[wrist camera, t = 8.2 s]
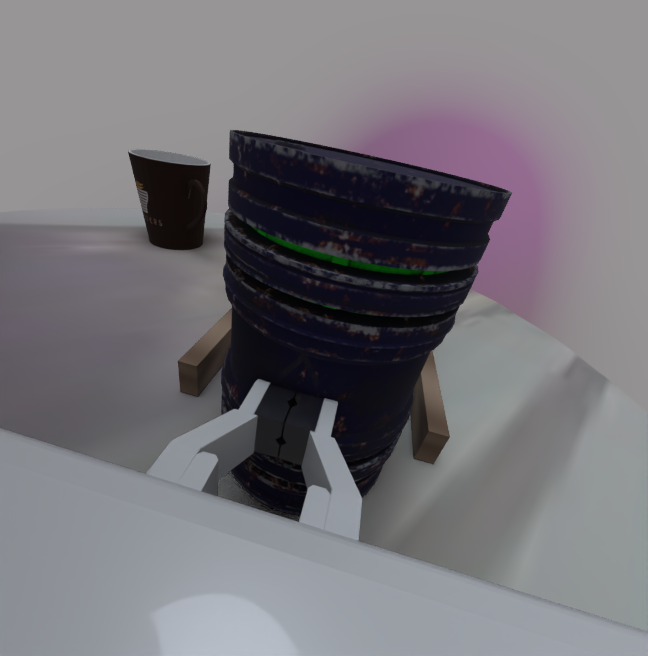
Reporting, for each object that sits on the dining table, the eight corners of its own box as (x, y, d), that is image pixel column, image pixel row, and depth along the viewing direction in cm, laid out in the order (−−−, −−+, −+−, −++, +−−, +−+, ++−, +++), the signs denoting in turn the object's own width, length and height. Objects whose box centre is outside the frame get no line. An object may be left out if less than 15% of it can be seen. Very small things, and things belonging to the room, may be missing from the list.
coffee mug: (144, 228, 43) (134, 146, 38) (210, 233, 46) (209, 158, 41) (130, 260, 34) (115, 158, 29) (213, 264, 37) (213, 173, 32)
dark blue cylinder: (374, 388, 23) (452, 173, 16) (401, 528, 15) (598, 216, 7) (242, 369, 23) (256, 130, 15) (193, 507, 14) (166, 124, 6)
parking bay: (433, 463, 19) (496, 361, 14) (180, 391, 20) (171, 276, 16) (417, 340, 31) (448, 265, 27) (260, 299, 32) (267, 221, 28)
